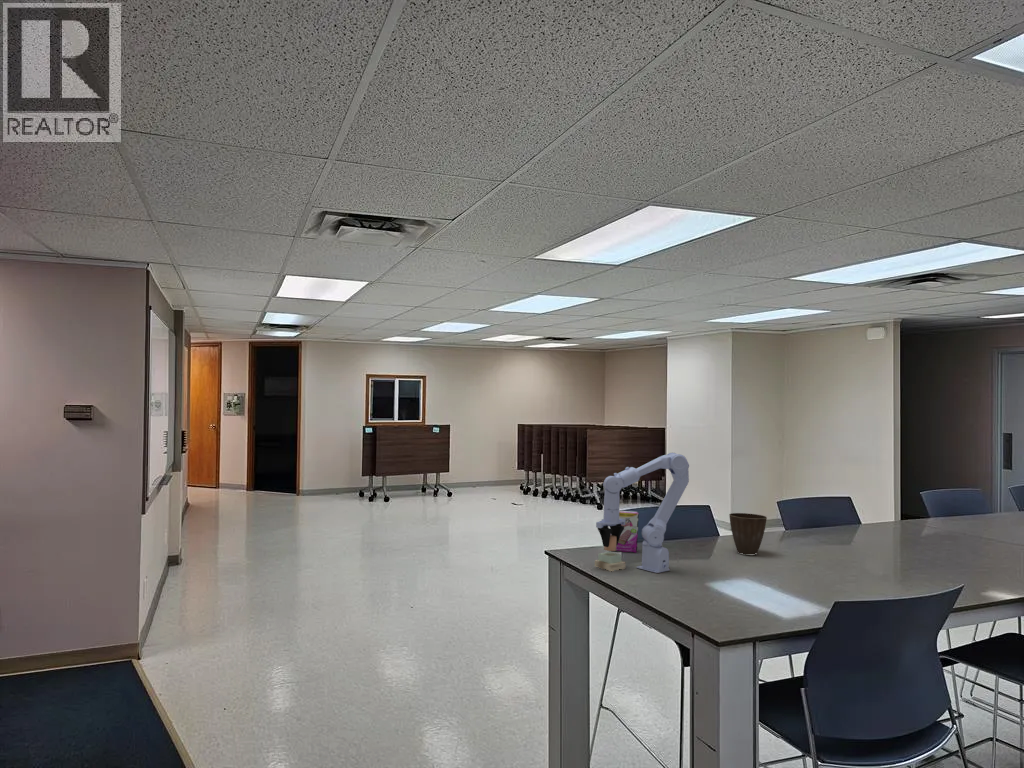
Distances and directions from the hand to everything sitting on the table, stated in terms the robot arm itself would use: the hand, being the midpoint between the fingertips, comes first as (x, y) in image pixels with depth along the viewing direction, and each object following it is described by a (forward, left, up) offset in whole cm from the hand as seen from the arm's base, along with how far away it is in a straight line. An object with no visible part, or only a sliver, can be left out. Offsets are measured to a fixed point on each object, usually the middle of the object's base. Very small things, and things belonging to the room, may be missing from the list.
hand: (610, 545), depth 251 cm
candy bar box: (+16, -28, -8) cm, 33 cm away
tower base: (0, 0, -9) cm, 9 cm away
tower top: (0, 0, -6) cm, 6 cm away
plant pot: (-16, -70, -8) cm, 72 cm away
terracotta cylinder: (0, 0, -1) cm, 1 cm away
